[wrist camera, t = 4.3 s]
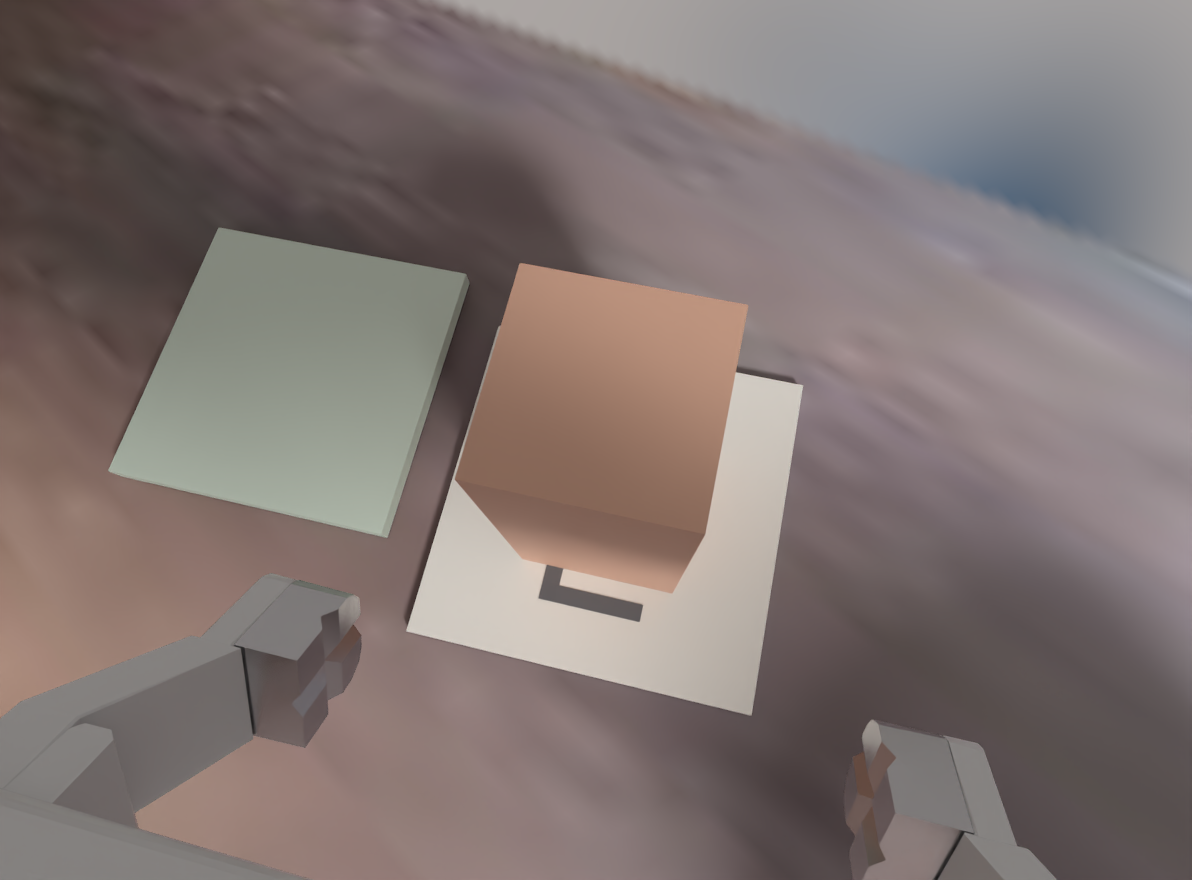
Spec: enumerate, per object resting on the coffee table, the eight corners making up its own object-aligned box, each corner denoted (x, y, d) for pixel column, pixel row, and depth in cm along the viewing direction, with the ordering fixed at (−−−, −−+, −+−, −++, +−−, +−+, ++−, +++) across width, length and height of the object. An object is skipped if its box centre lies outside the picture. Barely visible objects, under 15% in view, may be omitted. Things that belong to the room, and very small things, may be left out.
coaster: (120, 476, 23) (107, 471, 22) (227, 237, 26) (218, 227, 25) (387, 537, 22) (381, 533, 22) (469, 283, 25) (466, 273, 24)
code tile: (409, 631, 21) (405, 631, 21) (500, 329, 24) (498, 325, 24) (749, 715, 20) (751, 715, 20) (801, 388, 23) (803, 385, 23)
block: (522, 559, 21) (454, 479, 13) (559, 418, 23) (519, 262, 14) (672, 593, 21) (705, 534, 12) (700, 448, 22) (748, 304, 14)
